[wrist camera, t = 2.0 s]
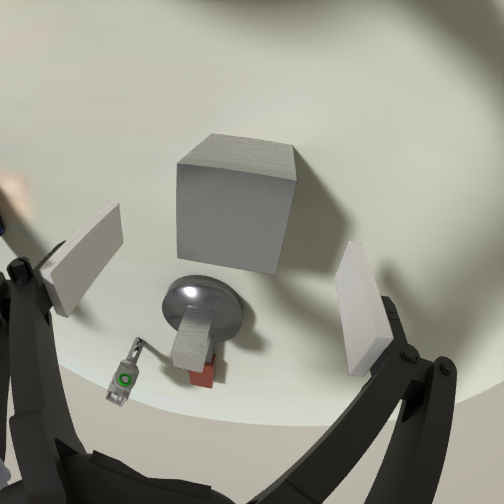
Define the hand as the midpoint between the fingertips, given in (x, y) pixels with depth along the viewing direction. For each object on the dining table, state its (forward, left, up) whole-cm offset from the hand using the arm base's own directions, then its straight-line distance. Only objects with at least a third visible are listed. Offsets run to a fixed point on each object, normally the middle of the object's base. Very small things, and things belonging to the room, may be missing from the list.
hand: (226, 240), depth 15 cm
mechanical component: (+27, -13, -9) cm, 31 cm away
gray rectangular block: (0, 0, -9) cm, 9 cm away
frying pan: (+22, -3, -9) cm, 24 cm away
